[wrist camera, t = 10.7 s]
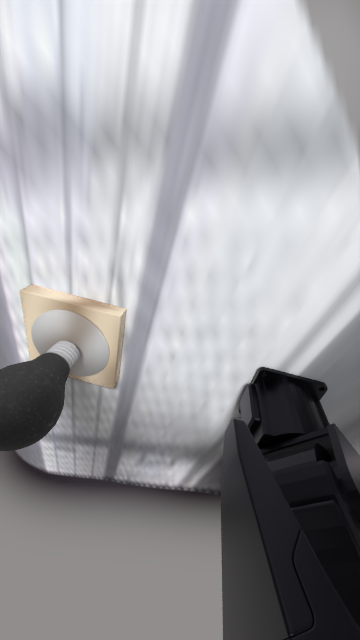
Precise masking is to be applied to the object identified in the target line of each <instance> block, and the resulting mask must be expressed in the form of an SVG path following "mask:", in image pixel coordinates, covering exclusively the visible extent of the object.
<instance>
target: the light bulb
mask: <svg viewBox="0 0 360 640" xmlns="http://www.w3.org/2000/svg"><path fill="white" fill-rule="evenodd" d="M79 356H80V355H79V350H78V349H77V347H76V346H75V345H74V344H73V343H70V342H68V341H59V342H57V343H56V344H55V345H53V346H52V347H51V348H50V349H49V350H48V351H47V352H46V353H44V354H41V355H40V356H38V357H37V358H35V359H33V360H31V361H27V362H22V363H18V364H14V365H10V366H7V367H5V368H3V369H0V451H13V450H17V449H21V448H24V447H28V446H30V445H32V444H34V443H36V442H37V441H39V440H40V439H42V438H43V437H44V436H45V435H47V433H48V432H49V431H50V430H51V429H52V428H53V427H54V426H55V424H56V422H57V420H58V419H59V417H60V414H61V412H62V409H63V405H64V397H65V382H66V380H67V378H68V376H69V372H70V370H71V368H72V367H73V366H74V365H75V363H76V362H77V361H78V358H79Z"/></svg>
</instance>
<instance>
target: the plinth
mask: <svg viewBox="0 0 360 640" xmlns="http://www.w3.org/2000/svg"><path fill="white" fill-rule="evenodd" d="M20 296H21V303H22V310H23V316H24V323H25V330H26V337H27V344H28V351H29V358H30V361H31V360H33V359H35V358H37V357H38V356H40V355H41V354H44V353H46V352H47V351H48V350H49V349H50V348H51V347H52V346H53V345H55V344H56V343H57V342H59V341H68V342H70V343H73V344H74V345H75V346H76V347H77V349H78V350H79V355H80V356H79V358H78V361H77V362H76V363H75V365H74V366H73V367H72V368H71V370H70V372H69V376H68V377H70V378H74V379H77V380H81V381H85V382H89V383H92V384H96V385H100V386H104V387H107V388H111V389H114V387H115V385H116V383H117V381H118V379H119V372H120V362H121V353H122V344H123V335H124V326H125V317H126V309H125V308H121V307H117V306H113V305H109V304H105V303H102V302H98V301H94V300H90V299H86V298H82V297H78V296H75V295H71V294H67V293H63V292H59V291H55V290H52V289H48V288H44V287H40V286H36V285H32V284H31V285H29V286H27V287H26V288H24V289H22V290H20Z"/></svg>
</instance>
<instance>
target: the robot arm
mask: <svg viewBox="0 0 360 640" xmlns="http://www.w3.org/2000/svg"><path fill="white" fill-rule="evenodd" d="M262 372H265V373H262ZM320 387H322V388H320ZM326 391H327V386H326V384H325V383H323V382H320V381H316V380H312V379H308V378H304V377H300V376H297V375H293V374H289V373H285V372H281V371H278V370H274V369H270V368H266V367H261V368H259V369H258V371H257V373H256V375H255V377H254V379H253V381H252V383H250V384H249V385H248V386H247V388H246V390H245V392H244V394H243V396H242V398H241V400H240V406H239V413H240V414H241V419H238V418H232V420H231V422H230V424H229V426H228V428H227V430H226V432H225V438H224V449H223V460H222V471H221V532H222V534H221V536H222V592H223V593H222V598H223V640H360V455H359V454H358V453H357V452H356V450H355V449H354V448H353V447H352V445H351V444H350V443H349V441H348V440H347V439H346V438H345V436H344V435H343V434H342V433H341V431H340V430H339V429H338V427H337V426H336V425H335V424H331V425H330V424H329V422H328V420H327V417H326V415H325V412H324V410H323V408H322V405H321V403H320V401H319V400H320V399H321V398H322V396H323V395H324V394H325V392H326Z"/></svg>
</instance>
